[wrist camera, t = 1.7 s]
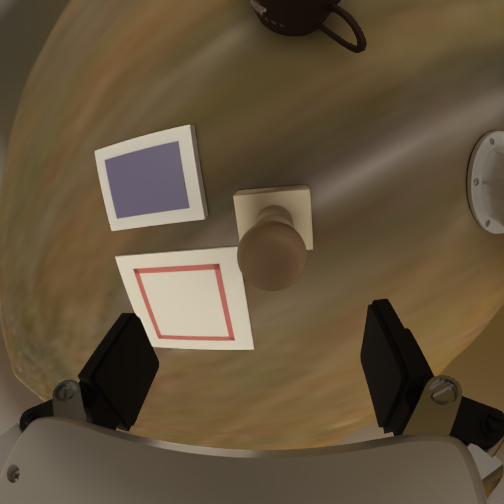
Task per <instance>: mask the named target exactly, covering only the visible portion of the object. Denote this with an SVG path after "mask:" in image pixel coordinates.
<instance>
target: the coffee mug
mask: <svg viewBox="0 0 504 504" xmlns="http://www.w3.org/2000/svg"><path fill="white" fill-rule="evenodd" d="M340 1H341V0H249V2H250V3H251V5H252V7H253V9H254V10H255V12H256V14H257V16H258V18H259V19H260V21H261V22H262V23H263V25H265V26H266V27H267V28H268V29H270V30H272V31H273V32H276V33H278V34H282V35H287V36H301V35H306V34H308V33H311V32H313V31H315V30H316V29H317V28H318V29H320V30H321V31H323V32H324V33H325V34H327V35H328V36H329V37H331V38H332V39H334V40H335V41H336V42H338V43H339V44H340V45H342V46H343V47H345V48H347V49H348V50H350V51H353V52H355V53H360V52H362V51H364V50H365V48H366V39H365V36H364V34H363V32H362V30H361V28H360V27H359V25H358V24H357V22H356V21H355V19H354V18H353V17H352V16H351V15H350V14H349V13H348V12H346V11H345V10H344V9H342V8H341V7H339V6H337V4H338V3H339V2H340ZM331 12H334V13H337V14H338V15H340V16H341V17H342V18H343V19H344V20H345V21H346V22H347V23H348V24H349V25H350V27H351V28H352V30H353V32H354V34H355V36H356V38H357V46H356V45H353V44H351V43H348V42H347V41H345V40H344V39H342V38H341V37H339V36H338V35H337V34H335V33H334V32H332V31H331V30H330V29H328V28H327V27H325V26H324V25H322V23H323V21H324V20H325V19H326V18H327V16H328V15H329V14H330V13H331Z"/></svg>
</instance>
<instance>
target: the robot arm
mask: <svg viewBox="0 0 504 504" xmlns="http://www.w3.org/2000/svg"><path fill="white" fill-rule="evenodd" d="M467 192H468V199H469V204H470V208H471V211H472V213H473V215H474V218H475V220H476V221H477V222H478V224H479V225H480V226H481V227H482V228H484V229H485V230H487V231H488V232H490V233H493V234H502V233H504V131H491V132H488V133H486V134H485V135H484V136H483V137H481V139H480V140H479V141H478V143H477V144H476V146H475V148H474V150H473V152H472V156H471V159H470V162H469V168H468V177H467ZM360 357H361V363H362V367H363V370H364V374H365V377H366V380H367V384H368V388H369V391H370V395H371V399H372V402H373V406H374V410H375V414H376V418H377V422H378V426H379V427H383V429H384V433H389V432H393V433H394V436H393V437H387V438H382V439H376V440H369V441H364V442H358V443H351V444H344V445H336V446H327V447H318V448H306V449H290V450H237V449H221V448H209V447H200V446H191V445H184V444H177V443H171V442H165V441H160V440H154V439H149V438H145V437H140V436H136V435H131V434H127V433H123V432H120V431H116V428H117V427H118V429H121V430H125V431H129V430H130V427H131V426H133V425H134V424H135V422H136V419H137V417H138V414H139V412H140V410H141V407H142V405H143V403H144V400H145V398H146V396H147V393H148V391H149V389H150V386H151V384H152V382H153V380H154V377H155V375H156V373H157V370H158V368H159V361H158V358H157V356H156V354H155V352H154V349H153V347H152V345H151V343H150V340H149V338H148V336H147V333H146V331H145V329H144V326H143V324H142V321H141V319H140V318H139V317H137V315H136V314H135V313H122V314H121V315H120V317H119V318H118V319H117V321H116V322H115V323H114V325H113V326H112V328H111V329H110V330H109V332H108V333H107V334H106V336H105V337H104V339H103V340H102V341H101V343H100V344H99V346H98V347H97V349H96V350H95V351H94V353H93V354H92V356H91V357H90V359H89V360H88V362H87V363H86V365H85V366H84V368H83V369H82V371H81V372H80V374H79V375H78V378H79V379H80V382H79V383H78V382H77V381H76V380H73V379H67V380H64V381H62V382H60V383H59V384H58V385H57V386H56V387H55V388H54V390H53V393H52V399H51V400H49V401H47V402H44V403H42V404H40V405H37V406H35V407H32V408H30V409H28V410H26V411H25V412H24V413H23V414H22V416H21V419H20V425H19V424H18V423H17V424H16V425H14V426H13V427H12V428H10V429H9V430H8V431H6V432H5V433H4V434H2V435H1V436H0V504H504V414H503V412H502V411H500V410H498V409H495V408H492V407H490V406H487V405H485V404H482V403H479V402H477V401H474V400H471V399H469V398H466V397H463V396H462V388H461V386H460V384H459V383H458V381H456V380H455V379H454V378H452V377H450V376H445V375H439V376H436V377H434V375H433V373H432V371H431V369H430V367H429V365H428V363H427V361H426V359H425V357H424V355H423V353H422V351H421V349H420V347H419V345H418V344H417V342H416V340H415V338H414V336H413V334H412V333H411V331H410V330H409V329H408V328H406V329H405V328H404V327H403V325H402V323H401V321H400V319H399V318H398V316H397V314H396V312H395V310H394V309H393V307H392V305H391V304H390V302H389V300H388V299H380V300H374V301H373V302H372V304H370V305H368V310H367V317H366V324H365V331H364V337H363V343H362V349H361V355H360Z"/></svg>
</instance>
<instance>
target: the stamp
mask: <svg viewBox="0 0 504 504" xmlns="http://www.w3.org/2000/svg"><path fill="white" fill-rule="evenodd" d="M233 199H234V206H235V213H236V220H237V226H238V233H239V240H240V242H239V245H238V250H237V262H238V266H239V269H240V271H241V273H242V275H243V276H244V278H245V279H246V280H247V281H248V282H249V283H250V284H252V285H253V286H255V287H257V288H259V289H262V290H267V291H277V290H282V289H285V288H287V287H289V286H290V285H292V284H293V283H295V282H296V281H297V280H298V279H299V277H300V276H301V274H302V273H303V271H304V269H305V266H306V261H307V251H306V250H313V237H312V216H311V200H310V189H309V187H308V185H293V186H281V187H269V188H258V189H248V190H239V191H237V192H236V193H235V194H234V196H233Z"/></svg>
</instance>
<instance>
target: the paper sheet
mask: <svg viewBox="0 0 504 504" xmlns="http://www.w3.org/2000/svg"><path fill="white" fill-rule="evenodd" d="M237 250H238V246H230V247H217V248H204V249H192V250H179V251H167V252H155V253H143V254H131V255H119V256H115V258H116V261H117V264H118V267H119V270H120V273H121V276H122V279H123V282H124V285H125V288H126V291H127V293H128V296H129V299H130V301H131V304H132V307H133V309H134V312H135V314H136V315H137V317H139V318H140V319H141V321H142V324H143V326H144V329H145V331H146V333H147V336H148V338H149V340H150V343H151V345H152V346H153V347H166V348H184V349H214V350H253V349H254V343H253V337H252V331H251V324H250V318H249V312H248V306H247V299H246V293H245V287H244V280H243V275H242V273H241V271H240V269H239V266H238V262H237Z"/></svg>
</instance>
